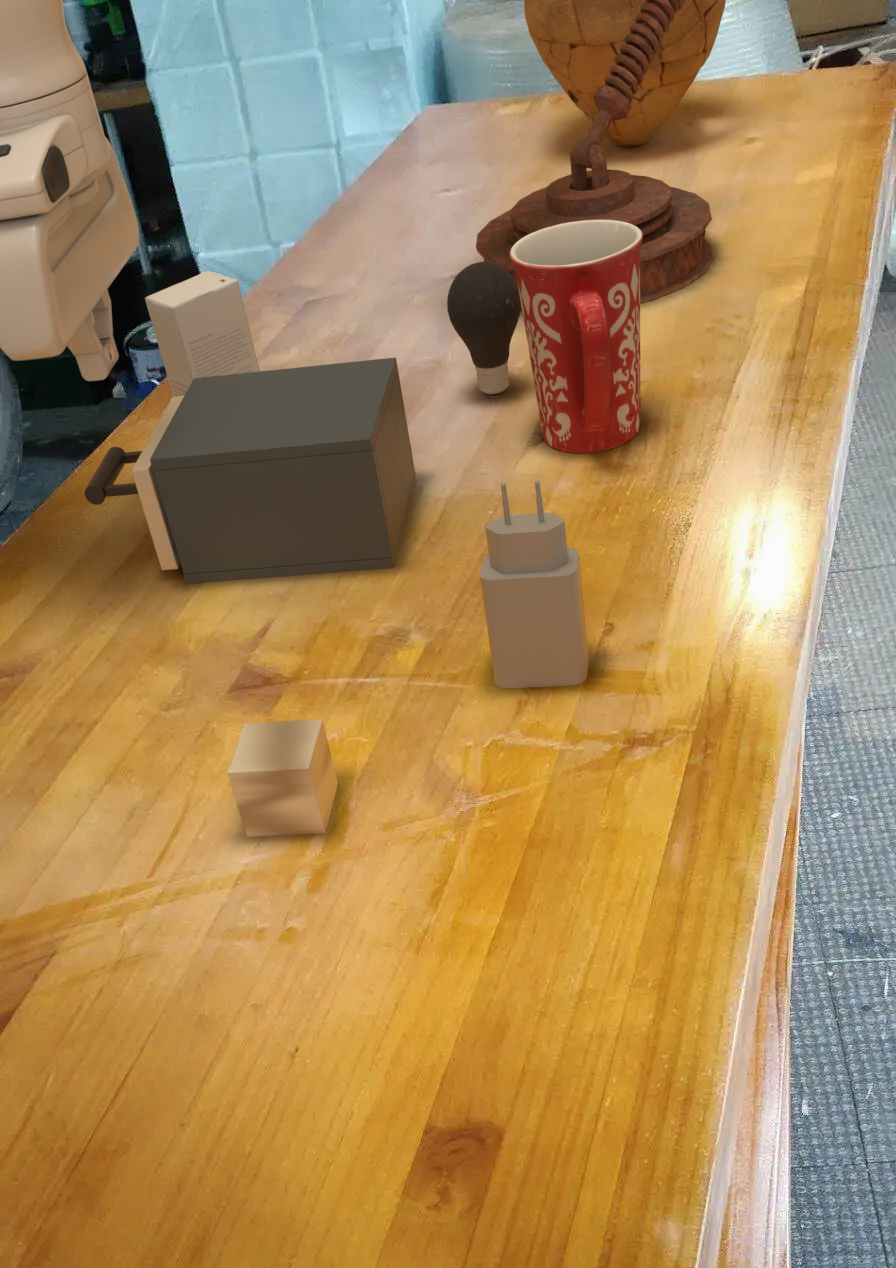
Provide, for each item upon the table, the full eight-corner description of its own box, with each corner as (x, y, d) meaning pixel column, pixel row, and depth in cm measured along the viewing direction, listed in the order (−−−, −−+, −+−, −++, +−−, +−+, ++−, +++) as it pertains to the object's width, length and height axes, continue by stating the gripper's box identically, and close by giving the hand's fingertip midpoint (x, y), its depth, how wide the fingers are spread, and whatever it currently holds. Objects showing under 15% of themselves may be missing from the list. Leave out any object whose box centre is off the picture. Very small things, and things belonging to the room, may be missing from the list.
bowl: (520, 140, 165) (499, -73, 151) (694, 103, 165) (689, -112, 152) (564, 192, 149) (545, -40, 136) (756, 151, 150) (756, -83, 136)
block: (246, 837, 79) (226, 772, 76) (262, 787, 82) (243, 723, 79) (325, 834, 78) (308, 768, 75) (338, 783, 81) (322, 718, 78)
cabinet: (186, 585, 101) (149, 459, 94) (225, 498, 109) (193, 378, 103) (394, 568, 98) (370, 438, 92) (416, 481, 107) (396, 357, 101)
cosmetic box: (246, 421, 119) (209, 268, 111) (276, 434, 117) (240, 278, 108) (184, 450, 117) (142, 296, 109) (213, 463, 114) (172, 306, 106)
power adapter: (586, 685, 85) (568, 492, 77) (493, 689, 86) (466, 499, 78) (589, 656, 87) (572, 464, 79) (499, 660, 88) (473, 472, 80)
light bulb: (450, 411, 115) (431, 279, 108) (472, 380, 119) (455, 251, 112) (519, 411, 113) (503, 277, 106) (539, 380, 117) (525, 248, 110)
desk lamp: (374, 318, 132) (274, -252, 104) (620, 202, 145) (589, -332, 117) (536, 365, 119) (471, -270, 92) (790, 233, 132) (799, -357, 105)
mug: (526, 415, 112) (506, 229, 103) (644, 398, 112) (635, 209, 102) (536, 490, 103) (514, 294, 94) (664, 472, 102) (656, 272, 93)
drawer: (94, 576, 101) (60, 476, 97) (136, 498, 110) (106, 403, 105) (352, 555, 98) (331, 451, 93) (376, 476, 106) (357, 377, 101)
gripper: (33, 101, 96) (100, 316, 105) (-78, 206, 81) (10, 444, 91) (125, 87, 94) (183, 306, 104) (28, 191, 80) (106, 434, 89)
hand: (102, 371), depth 97 cm, fingers closed
